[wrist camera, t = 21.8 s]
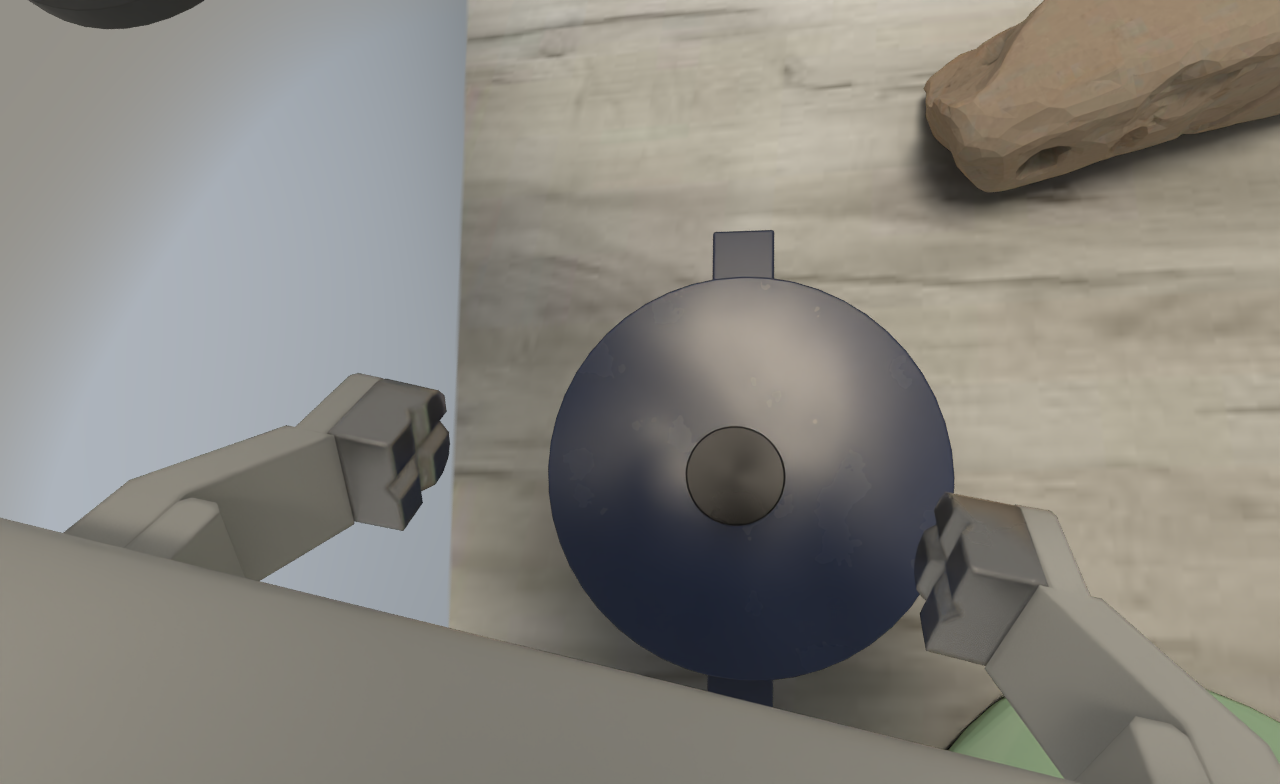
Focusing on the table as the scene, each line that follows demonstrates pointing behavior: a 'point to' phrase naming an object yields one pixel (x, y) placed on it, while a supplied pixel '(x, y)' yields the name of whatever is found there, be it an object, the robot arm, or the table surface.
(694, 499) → the lid
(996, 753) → the plant
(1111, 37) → the decorative stone
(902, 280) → the table surface
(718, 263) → the cooking pot
